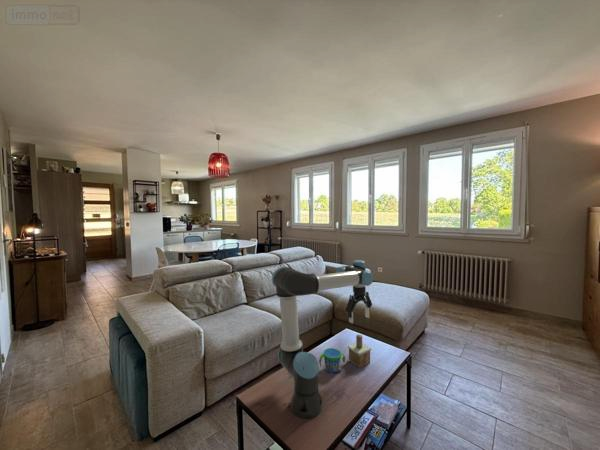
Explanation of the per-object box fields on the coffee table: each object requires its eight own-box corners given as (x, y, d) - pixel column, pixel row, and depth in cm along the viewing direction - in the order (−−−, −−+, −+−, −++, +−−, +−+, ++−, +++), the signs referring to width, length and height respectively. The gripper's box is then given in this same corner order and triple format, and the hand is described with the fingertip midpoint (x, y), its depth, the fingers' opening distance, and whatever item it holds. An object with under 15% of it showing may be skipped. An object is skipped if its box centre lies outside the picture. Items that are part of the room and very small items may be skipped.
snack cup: (342, 363, 154) (342, 346, 154) (347, 373, 144) (347, 356, 143) (317, 365, 152) (317, 349, 152) (321, 376, 142) (321, 359, 141)
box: (359, 367, 149) (359, 354, 149) (348, 360, 157) (348, 347, 157) (370, 362, 154) (370, 350, 154) (359, 355, 162) (359, 343, 161)
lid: (359, 355, 148) (359, 341, 148) (347, 347, 157) (347, 334, 156) (371, 350, 154) (371, 337, 153) (359, 343, 162) (359, 330, 162)
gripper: (348, 291, 143) (348, 327, 145) (378, 283, 157) (378, 317, 158) (339, 287, 150) (339, 322, 151) (368, 281, 163) (369, 313, 164)
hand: (359, 319), depth 154 cm, fingers open, 13 cm apart
